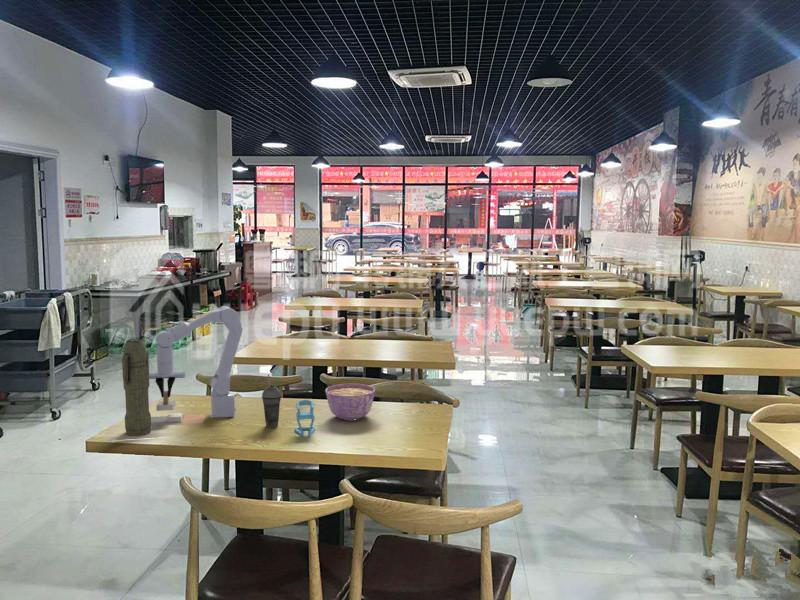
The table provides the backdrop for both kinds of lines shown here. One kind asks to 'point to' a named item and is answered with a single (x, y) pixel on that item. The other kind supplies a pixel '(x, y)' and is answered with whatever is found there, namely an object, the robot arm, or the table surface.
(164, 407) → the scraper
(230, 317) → the robot arm
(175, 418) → the block
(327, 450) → the table surface
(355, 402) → the bowl of food
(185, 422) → the mat
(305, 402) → the chair
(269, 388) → the beverage cup
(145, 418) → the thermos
